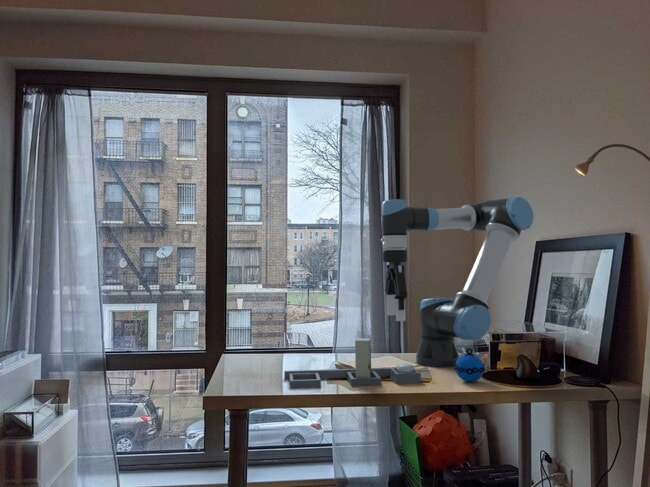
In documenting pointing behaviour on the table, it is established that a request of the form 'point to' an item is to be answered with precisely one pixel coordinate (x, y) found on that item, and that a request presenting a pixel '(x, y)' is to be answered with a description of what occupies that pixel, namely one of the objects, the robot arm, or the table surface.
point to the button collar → (405, 376)
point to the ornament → (469, 367)
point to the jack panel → (314, 377)
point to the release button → (405, 368)
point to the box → (363, 357)
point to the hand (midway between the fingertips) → (395, 317)
